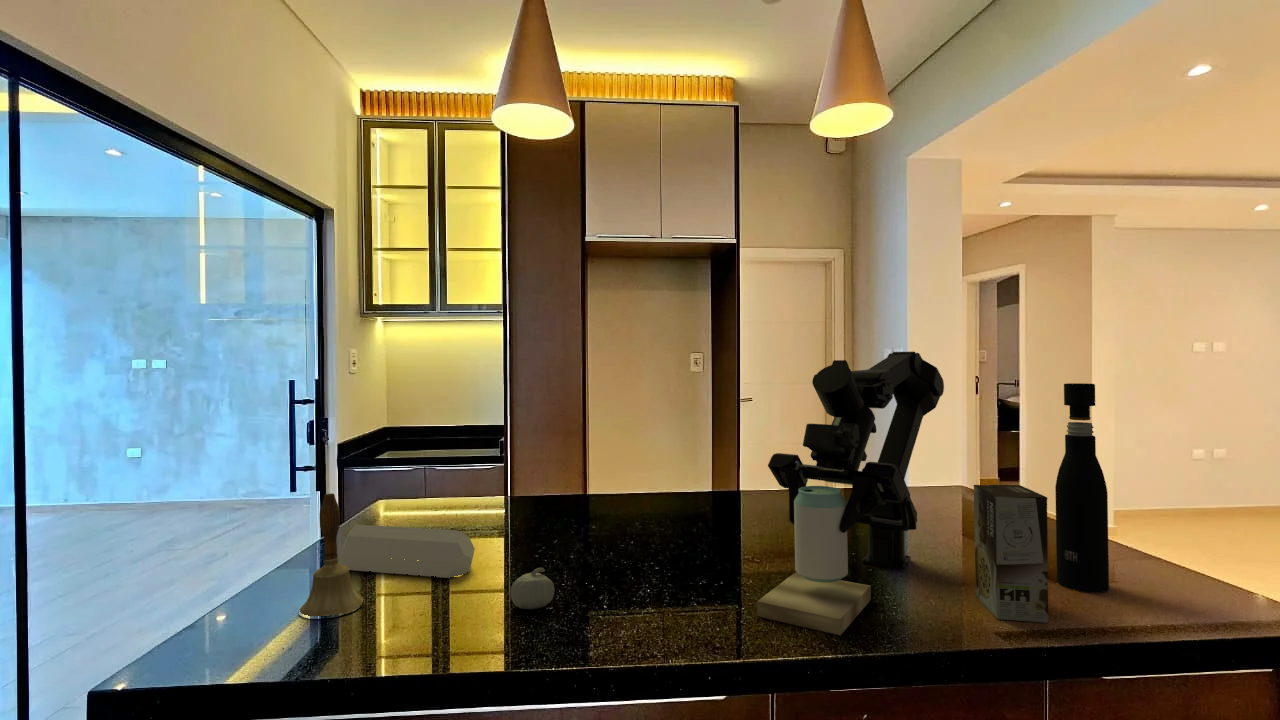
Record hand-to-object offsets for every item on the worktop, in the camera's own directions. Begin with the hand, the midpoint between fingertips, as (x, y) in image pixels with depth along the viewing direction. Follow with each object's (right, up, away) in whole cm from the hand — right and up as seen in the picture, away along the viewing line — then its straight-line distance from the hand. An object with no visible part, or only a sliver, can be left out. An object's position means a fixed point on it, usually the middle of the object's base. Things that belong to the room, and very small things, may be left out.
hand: (815, 526), depth 87 cm
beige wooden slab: (0, -12, 0) cm, 12 cm away
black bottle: (+42, -11, +7) cm, 44 cm away
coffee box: (+26, -11, -1) cm, 28 cm away
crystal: (-63, -12, +18) cm, 67 cm away
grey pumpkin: (-39, -12, +1) cm, 41 cm away
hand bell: (-67, -12, +1) cm, 68 cm away
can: (+1, -7, +1) cm, 7 cm away
